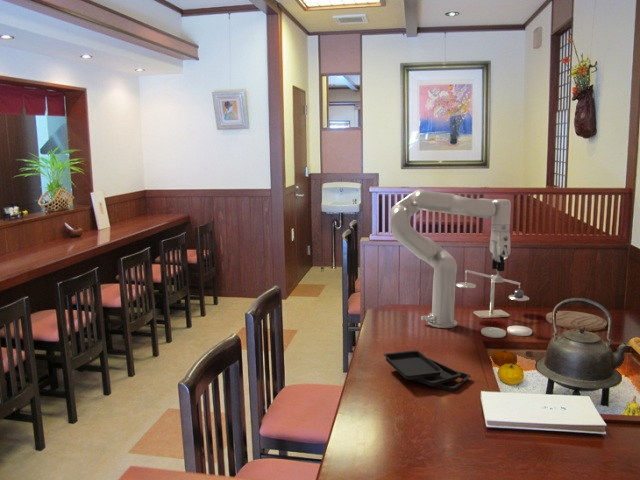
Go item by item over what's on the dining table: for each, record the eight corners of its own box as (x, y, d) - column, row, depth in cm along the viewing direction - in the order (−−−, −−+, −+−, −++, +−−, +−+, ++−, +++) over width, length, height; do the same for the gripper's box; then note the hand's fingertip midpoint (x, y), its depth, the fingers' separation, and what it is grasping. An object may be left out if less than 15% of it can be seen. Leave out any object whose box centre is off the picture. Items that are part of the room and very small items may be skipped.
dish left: (487, 338, 231) (488, 335, 231) (476, 330, 240) (477, 327, 240) (510, 336, 233) (510, 334, 232) (498, 329, 242) (498, 326, 242)
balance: (459, 319, 255) (461, 272, 252) (451, 314, 264) (453, 268, 260) (531, 315, 262) (534, 269, 258) (521, 310, 271) (524, 265, 267)
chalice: (506, 283, 240) (509, 242, 237) (490, 282, 242) (492, 241, 239) (504, 279, 247) (506, 239, 245) (488, 279, 249) (490, 238, 246)
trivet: (535, 322, 253) (535, 318, 253) (560, 311, 270) (561, 307, 269) (592, 336, 235) (592, 331, 235) (615, 323, 251) (616, 319, 251)
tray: (474, 375, 195) (475, 360, 194) (456, 401, 174) (457, 385, 174) (393, 359, 209) (393, 345, 208) (367, 382, 189) (368, 367, 188)
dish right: (514, 336, 233) (514, 333, 233) (502, 329, 243) (502, 326, 242) (536, 335, 235) (536, 332, 235) (523, 327, 244) (524, 325, 244)
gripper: (518, 230, 233) (516, 273, 236) (498, 225, 249) (496, 265, 252) (502, 231, 232) (499, 274, 235) (483, 225, 248) (481, 266, 251)
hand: (498, 269), depth 244 cm, fingers closed on chalice, 3 cm apart
